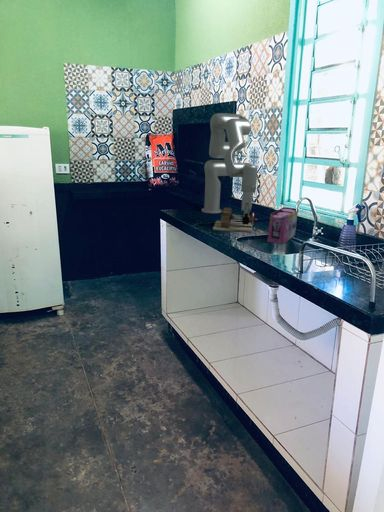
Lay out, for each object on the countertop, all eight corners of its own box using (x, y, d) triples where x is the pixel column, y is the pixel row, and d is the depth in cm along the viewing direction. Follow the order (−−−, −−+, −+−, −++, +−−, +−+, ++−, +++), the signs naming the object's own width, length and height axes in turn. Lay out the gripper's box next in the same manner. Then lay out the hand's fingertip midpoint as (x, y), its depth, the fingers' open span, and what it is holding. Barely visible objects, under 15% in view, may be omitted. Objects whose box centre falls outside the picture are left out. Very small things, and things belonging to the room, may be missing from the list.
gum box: (282, 245, 188) (285, 217, 184) (265, 242, 192) (268, 214, 188) (295, 234, 209) (298, 208, 204) (280, 232, 212) (283, 206, 208)
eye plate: (216, 222, 228) (217, 206, 226) (252, 224, 226) (253, 208, 223) (212, 229, 211) (213, 212, 209) (251, 232, 209) (253, 215, 206)
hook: (221, 220, 222) (222, 209, 220) (257, 223, 219) (258, 211, 217) (220, 223, 216) (221, 211, 214) (257, 226, 213) (258, 214, 211)
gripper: (241, 186, 219) (239, 219, 225) (240, 190, 204) (237, 226, 210) (256, 187, 218) (253, 220, 224) (255, 191, 203) (252, 227, 209)
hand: (245, 223), depth 217 cm, fingers closed on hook, 2 cm apart
